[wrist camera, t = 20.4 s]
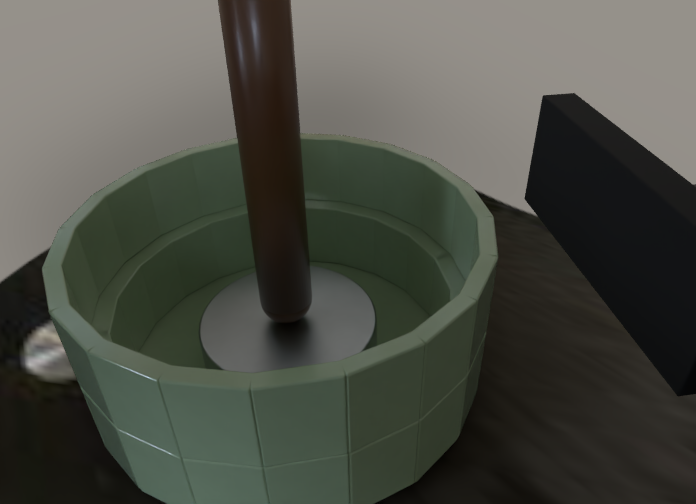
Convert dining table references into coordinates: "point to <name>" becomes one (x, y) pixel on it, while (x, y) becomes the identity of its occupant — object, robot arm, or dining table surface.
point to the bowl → (289, 383)
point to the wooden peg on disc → (276, 218)
